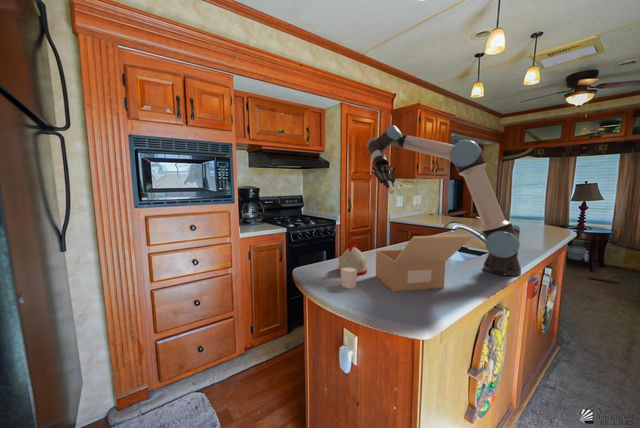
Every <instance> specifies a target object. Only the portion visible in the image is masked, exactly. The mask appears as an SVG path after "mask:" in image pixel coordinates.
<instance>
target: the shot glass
mask: <svg viewBox="0 0 640 428" xmlns="http://www.w3.org/2000/svg"><path fill="white" fill-rule="evenodd" d="M357 277H358V276H357V269H356V268H352V267H344V268H341V273H340V279H341V287H342V286H343V288H344V287H345V288H346V289H354V288H355V287H357V286H356V285H357V283H356V282H357ZM345 288H344V289H345Z"/></svg>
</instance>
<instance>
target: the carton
mask: <svg viewBox="0 0 640 428" xmlns="http://www.w3.org/2000/svg"><path fill="white" fill-rule="evenodd" d="M403 249H404V248H402V249H401V248H400V249H381V250H376V251H375V255H376V256H375V277H376V278H377V279H378V280H379V281H380V282H382V283H383V284H384V285H385V286H386V287H387V289H389V290H391V291H392V293H393V292H407V291H421V290H435V289H444V288H445V276H446V274H445V273H446V260H444V261H425V262H405V263H395V262H394V261H395V260H396V258H397V257H398V256H399V254H400V253H401V252H402V250H403Z"/></svg>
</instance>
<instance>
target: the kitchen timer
mask: <svg viewBox="0 0 640 428" xmlns="http://www.w3.org/2000/svg"><path fill="white" fill-rule="evenodd" d="M347 247H348V248H346V249H345V251H343V253H342V255H340V256H339V258H338V265H337V271H339V272H340V274H341V268H344V267H352V268H356V269H357V277H361V276H364V275H366V274H368V266H367V258H365V255H364V254H363V253H362V251H361V250H360V249H358V248H357V247H358V244H357V242H356V241H355V240H352V241H350V242H349V245H347ZM339 272H338V273H339Z"/></svg>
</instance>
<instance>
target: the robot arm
mask: <svg viewBox="0 0 640 428" xmlns="http://www.w3.org/2000/svg"><path fill="white" fill-rule="evenodd" d="M390 146H393V147H395V148H399V149H403V150H408V151H413V152H418V153H420V154H425V155H428V156H434V157H436V158H441V159H446V160H448V161H449V162H450V163H453V164H454V166H455V169H456V172H457V174H458V175H459V176H461V177H463V178H464V181H465V183H466V186H467V189H468V191H469V194H470V195H471V199H472V201H473V202H474V206H475V208H476V210H477V213H478V215H479V216H478V217H480V220H481V224H482V228H481V233H482V235H483V238H484V241H485V243H484V244H485V248H486V250H487V251H488V254H487V255H486V257H485V260H484V262H483V266H482V268H483V270H484V269H485V270H484V271H486V272H488V271H489V272H488V273H491V272H492V274H494V273H497V274H496V275H499V274H506V275H511V276H510V277H517V276H521V275H522V268H521V264H520V261H519V258H518V257H519V256H518V255H519V249H520V244H521V243H520V234H521V227H520V226H519V225H516V224H512V222H511V221H509V220H507V219H506V218H505V215H504V213H503V211H502V208H501V206H500V204H499V201H498V199H497V196H496V193H495V191H494V190H493V187H492V184H491V181H490V179H489V177H488V175H487V172H486V170H485V167H486V166H487V161H486V159H485V156H484V151H483V149H482V147H481V146H479V144H478V143H477V142H476V141H473V140H470V139H464V140H461V141H458V142H456V143H455V144H451V143H446V142H443V141H442V142H441V141H437V140H431V139H427V138H422V137H417V136H413V135H408V134H404V133H402V132H401V131H400V129H399V128H398V126H396V125H394V124H392V125H390V126H389V127H388V128H387V129H386V130H384V132H383V133H381V134H380V135H379V136H378V137H376V138H375V137H372V138H370V139H369V140H368V141H367V144H366V148H367V152H368V153H369V155H370V158H371V161H372V165H373V166H372V167H371V170H370V171H371V173H372V174H373V175H374V176H375V178H376V179H377V180H378V182H379V183H380V184H383V186H385V188H386V189H387V191H388V193H389V195H394V192H395V184H394V183H395V181H396V173H395V172H396V167H391V166H390V165H389V160H388V158H387V155H386V154H385V150H386V149H388V148H389V147H390Z"/></svg>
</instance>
